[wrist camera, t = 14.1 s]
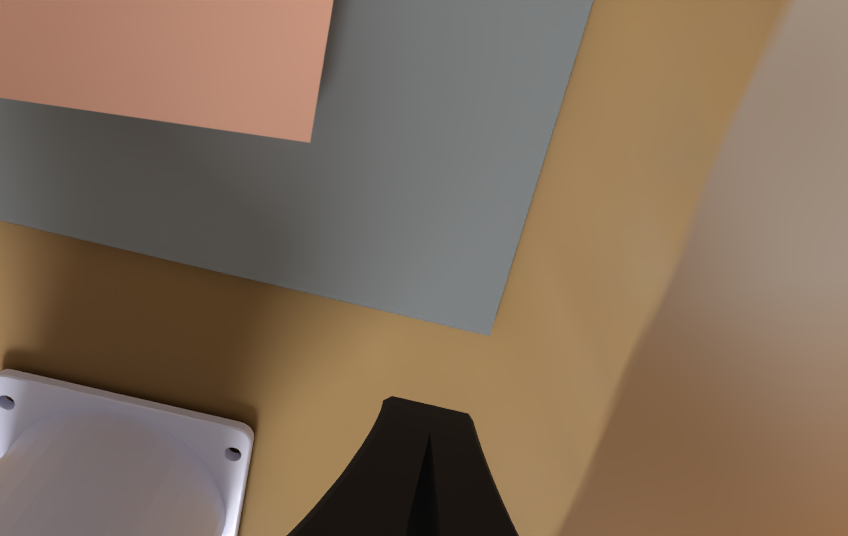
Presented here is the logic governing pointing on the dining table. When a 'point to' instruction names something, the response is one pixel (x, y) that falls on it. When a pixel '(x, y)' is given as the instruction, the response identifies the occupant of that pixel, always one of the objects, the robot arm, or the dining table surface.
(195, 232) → the mat
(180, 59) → the tile
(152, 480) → the robot arm
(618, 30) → the dining table surface
